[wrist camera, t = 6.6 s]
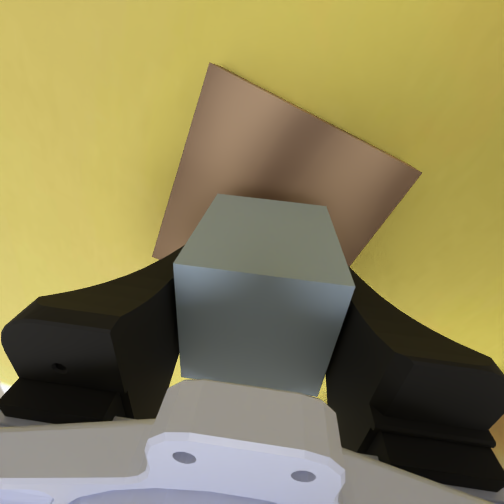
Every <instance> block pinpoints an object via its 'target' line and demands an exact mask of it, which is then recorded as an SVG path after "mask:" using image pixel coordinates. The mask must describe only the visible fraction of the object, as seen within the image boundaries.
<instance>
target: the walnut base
mask: <svg viewBox="0 0 504 504" xmlns="http://www.w3.org/2000/svg"><path fill="white" fill-rule="evenodd" d="M421 174H422V172H420V171H418V170H417V169H415V168H413V167H412V166H410V165H408V164H407V163H405V162H403V161H401V160H399V159H398V158H396V157H394V156H392V155H390V154H388V153H386V152H384V151H382V150H380V149H378V148H376V147H374V146H373V145H371V144H369V143H367V142H365V141H363V140H361V139H359V138H357V137H355V136H353V135H351V134H349V133H348V132H346V131H344V130H342V129H340V128H338V127H336V126H334V125H332V124H330V123H328V122H326V121H324V120H323V119H321V118H319V117H317V116H315V115H313V114H311V113H309V112H307V111H305V110H303V109H301V108H299V107H298V106H296V105H294V104H292V103H290V102H288V101H286V100H284V99H282V98H280V97H278V96H276V95H274V94H273V93H271V92H269V91H267V90H265V89H263V88H261V87H259V86H257V85H255V84H253V83H251V82H249V81H248V80H246V79H244V78H242V77H240V76H238V75H236V74H234V73H232V72H230V71H228V70H226V69H224V68H223V67H221V66H218V65H215V64H212V63H209V66H208V69H207V73H206V76H205V80H204V83H203V86H202V90H201V93H200V96H199V100H198V103H197V107H196V110H195V113H194V117H193V120H192V123H191V127H190V130H189V134H188V137H187V140H186V144H185V147H184V150H183V154H182V157H181V161H180V164H179V167H178V171H177V174H176V177H175V181H174V184H173V188H172V191H171V194H170V198H169V201H168V204H167V208H166V211H165V215H164V218H163V221H162V225H161V228H160V231H159V235H158V238H157V242H156V245H155V248H154V252H153V255H152V257H154V258H157V259H159V260H160V259H162V258H164V257H166V256H168V255H169V254H171V253H173V252H174V251H176V250H177V249H179V248H181V247H182V246H184V245H185V244H186V242H187V241H188V239H189V238H190V236H191V235H192V233H193V231H194V230H195V228H196V227H197V225H198V224H199V222H200V220H201V219H202V217H203V216H204V214H205V213H206V211H207V209H208V208H209V206H210V205H211V203H212V202H213V200H214V198H215V197H216V195H217V194H225V195H234V196H243V197H251V198H260V199H269V200H277V201H286V202H295V203H303V204H312V205H321V206H326V207H327V210H328V212H329V215H330V218H331V221H332V223H333V226H334V229H335V232H336V234H337V237H338V240H339V243H340V245H341V248H342V251H343V254H344V257H345V259H346V262H347V265H348V266H350V265H351V264H352V263H353V261H354V260H355V259H356V257H357V256H358V255H359V254H360V252H361V251H362V250H363V248H364V247H365V246H366V245H367V243H368V242H369V241H370V239H371V238H372V237H373V236H374V234H375V233H376V232H377V230H378V229H379V228H380V227H381V225H382V224H383V223H384V221H385V220H386V219H387V218H388V216H389V215H390V214H391V212H392V211H393V210H394V209H395V207H396V206H397V205H398V203H399V202H400V201H401V200H402V198H403V197H404V196H405V194H406V193H407V192H408V191H409V189H410V188H411V187H412V185H413V184H414V183H415V182H416V180H417V179H418V178H419V176H420V175H421Z"/></svg>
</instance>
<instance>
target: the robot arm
mask: <svg viewBox="0 0 504 504" xmlns="http://www.w3.org/2000/svg"><path fill="white" fill-rule="evenodd" d="M184 246H185V245H184ZM184 246H182V247H181V248H179V249H177V250H176V251H174V252H173V253H171V254H169V255H168V256H166V257H164V258H162V259H160V260H159V261H157V262H155V263H153V264H151V265H149V266H147V267H145V268H143V269H141V270H138V271H136V272H134V273H131V274H129V275H126V276H123V277H120V278H117V279H115V280H112V281H109V282H106V283H102V284H99V285H95V286H91V287H87V288H83V289H79V290H74V291H70V292H64V293H58V294H53V295H47V296H41V297H38V298H37V299H36V300H35V301H34V302H32V303H31V304H30V305H29V306H28V307H26V308H25V309H24V310H23V311H22V312H21V313H19V314H18V315H17V316H16V317H15V318H13V319H12V320H11V321H10V322H9V323H8V324H6V325H5V327H4V328H3V330H2V332H1V343H2V345H3V348H4V351H5V353H6V354H7V356H8V358H9V360H10V362H11V364H12V365H13V367H14V369H15V371H16V373H17V375H18V376H19V379H18V380H17V381H16V382H15V383H14V384H13V385H12V386H11V388H10V389H9V390H8V391H7V392H6V393H5V394H4V395H3V396H2V397H1V398H0V504H504V470H503V468H502V466H501V464H500V463H499V461H498V459H497V458H496V456H495V454H494V452H493V451H492V449H491V448H494V447H495V446H496V441H495V439H494V438H493V436H492V434H491V433H490V431H489V429H490V428H491V427H492V426H493V425H494V424H495V423H496V422H497V421H498V420H499V419H500V418H501V417H502V415H503V414H504V374H503V373H502V371H501V370H500V369H499V368H498V366H497V365H496V364H495V362H494V361H493V360H492V358H490V357H488V356H486V355H484V354H481V353H479V352H477V351H475V350H472V349H470V348H468V347H466V346H463V345H461V344H459V343H457V342H454V341H452V340H450V339H448V338H447V337H445V336H443V335H441V334H439V333H437V332H435V331H433V330H431V329H429V328H428V327H426V326H424V325H422V324H421V323H419V322H417V321H416V320H414V319H412V318H411V317H409V316H408V315H406V314H405V313H403V312H402V311H400V310H399V309H397V308H396V307H394V306H393V305H392V304H390V303H389V302H388V301H386V300H385V299H384V298H382V297H381V296H380V295H379V294H378V293H376V292H375V291H374V290H373V289H372V288H371V287H369V286H368V285H367V284H366V283H365V282H364V281H363V280H362V279H361V278H360V277H359V276H358V275H357V274H356V273H355V272H354V271H353V270H352V269H351V268H350V267H349V266H348V268H349V270H350V273H351V276H352V279H353V281H354V284H355V289H354V292H353V295H352V298H351V301H350V304H349V307H348V310H347V313H346V315H345V318H344V321H343V324H342V327H341V330H340V333H339V336H338V339H337V341H336V344H335V347H334V350H333V353H332V356H331V359H330V362H329V365H328V368H327V370H326V373H325V374H326V387H327V403H328V405H327V404H326V403H325V402H323V401H322V400H320V399H318V398H315V397H312V396H309V395H306V394H302V393H298V392H291V391H284V390H277V389H270V388H263V387H256V386H249V385H242V384H235V383H228V382H221V381H214V380H208V379H192V380H184V381H181V382H179V383H177V384H175V385H173V386H171V387H169V384H170V381H171V378H172V375H173V371H174V368H175V365H176V362H177V359H178V356H179V353H180V352H179V339H178V325H177V311H176V297H175V284H174V270H173V263H174V261H175V260H176V258H177V257H178V255H179V253H180V252H181V250H182V249H183V247H184Z"/></svg>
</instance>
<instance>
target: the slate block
mask: <svg viewBox="0 0 504 504" xmlns="http://www.w3.org/2000/svg"><path fill="white" fill-rule="evenodd" d="M173 270H174V284H175V297H176V311H177V325H178V339H179V352H180V366H181V377H184V378H191V379H208V380H214V381H221V382H228V383H235V384H242V385H249V386H256V387H263V388H270V389H277V390H284V391H291V392H298V393H302V394H306V395H309V396H316V397H318V394H319V391H320V388H321V385H322V382H323V379H324V376H325V373H326V370H327V368H328V365H329V362H330V359H331V356H332V353H333V350H334V347H335V344H336V341H337V339H338V336H339V333H340V330H341V327H342V324H343V321H344V318H345V315H346V313H347V310H348V307H349V304H350V301H351V298H352V295H353V292H354V289H355V284H354V281H353V279H352V276H351V273H350V270H349V268H348V265H347V262H346V259H345V257H344V254H343V251H342V248H341V245H340V243H339V240H338V237H337V234H336V232H335V229H334V226H333V223H332V221H331V218H330V215H329V212H328V210H327V207H326V206H321V205H312V204H303V203H295V202H286V201H277V200H269V199H260V198H251V197H243V196H234V195H225V194H217V195H216V197H215V198H214V200H213V202H212V203H211V205H210V206H209V208H208V209H207V211H206V213H205V214H204V216H203V217H202V219H201V220H200V222H199V224H198V225H197V227H196V228H195V230H194V231H193V233H192V235H191V236H190V238H189V239H188V241H187V242H186V244H185V246H184V247H183V249H182V250H181V252H180V253H179V255H178V257H177V258H176V260H175V261H174V263H173Z"/></svg>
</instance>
